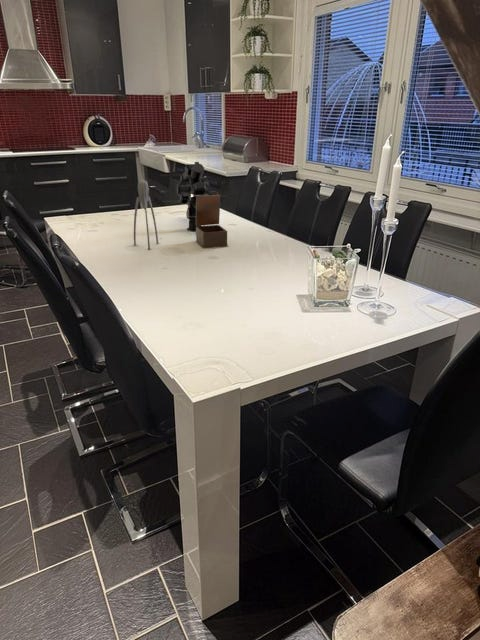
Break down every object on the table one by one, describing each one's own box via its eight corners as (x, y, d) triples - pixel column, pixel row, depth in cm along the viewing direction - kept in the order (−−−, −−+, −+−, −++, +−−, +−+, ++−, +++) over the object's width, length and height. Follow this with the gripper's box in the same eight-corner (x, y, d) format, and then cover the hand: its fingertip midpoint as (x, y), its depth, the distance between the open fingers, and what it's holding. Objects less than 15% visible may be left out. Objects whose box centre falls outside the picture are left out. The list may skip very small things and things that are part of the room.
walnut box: (227, 246, 220) (227, 231, 217) (203, 248, 217) (203, 232, 214) (218, 239, 232) (218, 224, 229) (196, 241, 228) (195, 226, 226)
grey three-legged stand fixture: (149, 249, 213) (144, 182, 201) (129, 248, 215) (123, 181, 203) (158, 243, 223) (154, 178, 211) (139, 242, 225) (133, 177, 213)
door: (220, 195, 221) (219, 194, 221) (196, 196, 217) (196, 195, 218) (219, 224, 229) (218, 223, 229) (196, 225, 225) (195, 225, 226)
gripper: (180, 175, 227) (186, 202, 222) (217, 174, 233) (223, 200, 228) (177, 190, 237) (183, 216, 232) (212, 188, 243) (219, 214, 238)
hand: (202, 211), depth 232 cm, fingers open, 3 cm apart
